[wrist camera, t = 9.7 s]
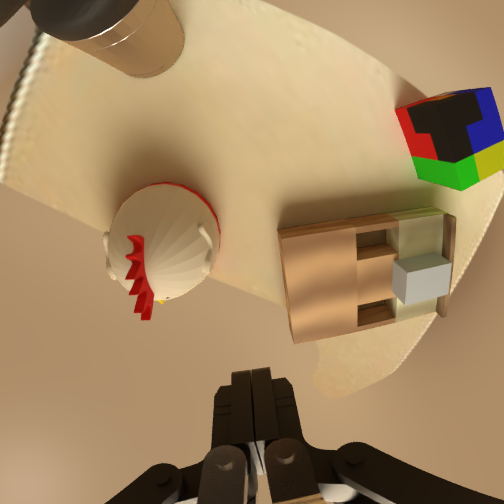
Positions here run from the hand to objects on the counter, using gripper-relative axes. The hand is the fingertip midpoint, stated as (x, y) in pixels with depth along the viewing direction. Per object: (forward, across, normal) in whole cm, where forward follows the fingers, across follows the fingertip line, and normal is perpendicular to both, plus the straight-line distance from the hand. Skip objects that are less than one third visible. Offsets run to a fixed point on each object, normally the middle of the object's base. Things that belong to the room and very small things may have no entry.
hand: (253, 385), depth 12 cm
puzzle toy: (+29, -28, -8) cm, 41 cm away
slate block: (+25, -22, +10) cm, 35 cm away
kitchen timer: (+29, +10, +1) cm, 31 cm away
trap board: (+29, -16, +10) cm, 34 cm away
